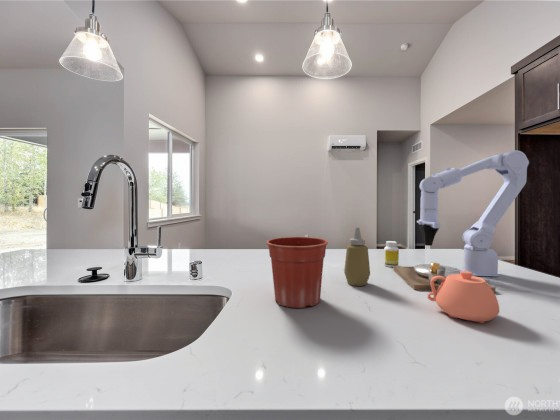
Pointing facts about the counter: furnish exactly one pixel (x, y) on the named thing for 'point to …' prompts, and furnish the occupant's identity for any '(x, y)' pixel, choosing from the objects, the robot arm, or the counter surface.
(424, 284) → the post board
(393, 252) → the supplement bottle
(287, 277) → the flower pot
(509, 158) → the robot arm
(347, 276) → the squeeze bottle
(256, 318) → the counter surface
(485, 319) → the sugar bowl
